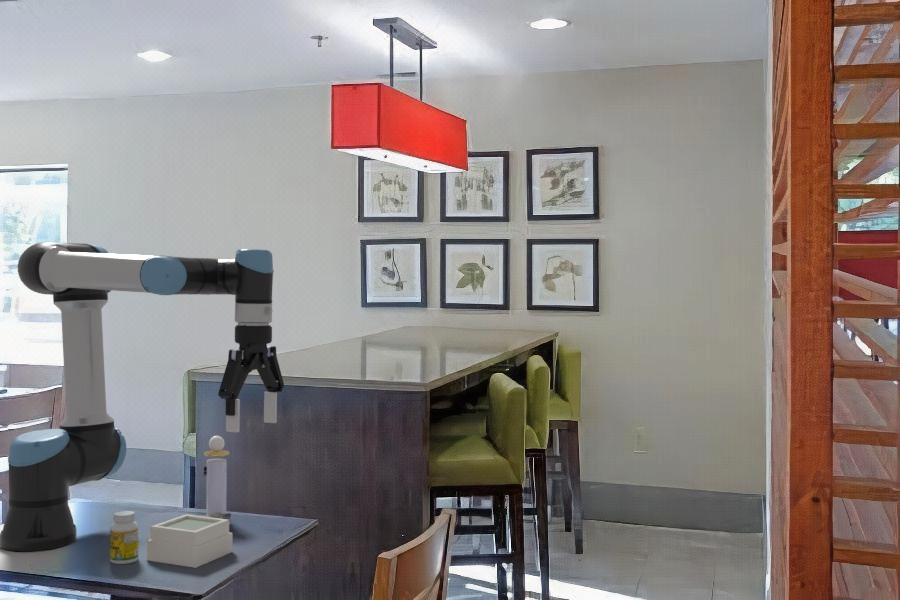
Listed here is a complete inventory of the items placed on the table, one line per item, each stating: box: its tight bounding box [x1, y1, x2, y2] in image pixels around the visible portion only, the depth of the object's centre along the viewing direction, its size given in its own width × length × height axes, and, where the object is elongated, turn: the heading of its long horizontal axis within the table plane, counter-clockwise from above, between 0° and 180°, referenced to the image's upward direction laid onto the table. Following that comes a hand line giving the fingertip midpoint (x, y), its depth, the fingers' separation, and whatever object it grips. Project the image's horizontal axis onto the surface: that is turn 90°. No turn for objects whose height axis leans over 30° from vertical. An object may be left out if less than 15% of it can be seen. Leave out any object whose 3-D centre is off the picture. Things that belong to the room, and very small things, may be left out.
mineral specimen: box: [200, 512, 233, 525], centre depth 208 cm, size 6×12×4 cm, turn 115°
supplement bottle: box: [109, 510, 139, 565], centre depth 187 cm, size 5×5×10 cm
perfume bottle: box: [203, 435, 230, 515], centre depth 219 cm, size 6×6×20 cm
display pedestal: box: [146, 513, 234, 569], centre depth 190 cm, size 12×12×7 cm
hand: (252, 427), depth 192 cm, fingers open, 13 cm apart
